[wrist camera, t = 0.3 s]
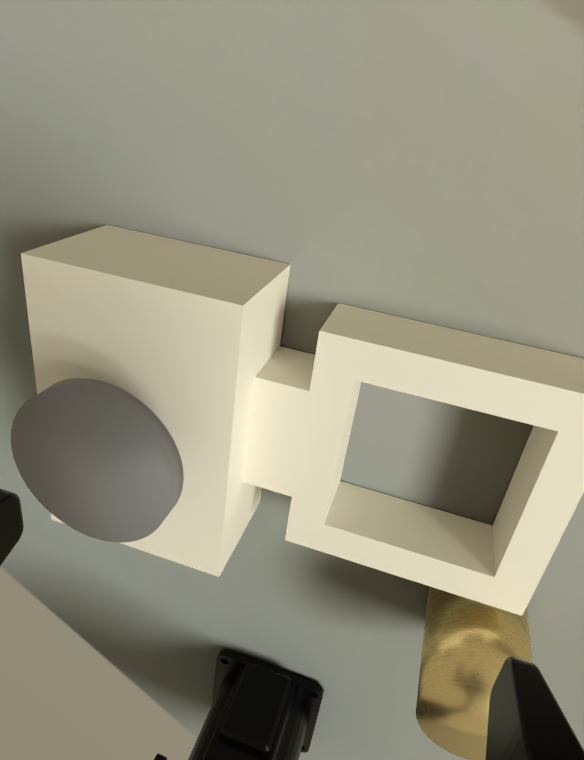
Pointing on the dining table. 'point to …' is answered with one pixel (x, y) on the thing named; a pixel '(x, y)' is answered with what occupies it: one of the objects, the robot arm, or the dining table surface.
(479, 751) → the brass cylinder
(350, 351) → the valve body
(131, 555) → the dining table surface
